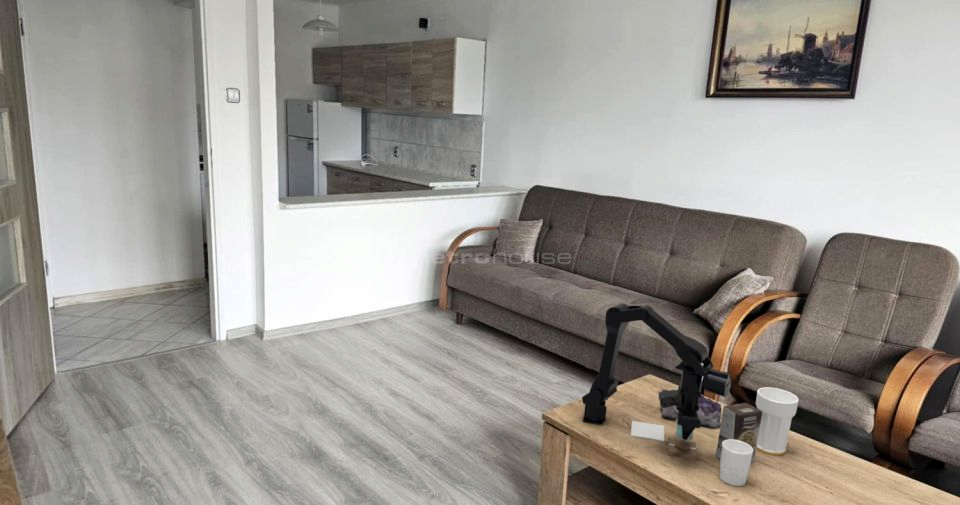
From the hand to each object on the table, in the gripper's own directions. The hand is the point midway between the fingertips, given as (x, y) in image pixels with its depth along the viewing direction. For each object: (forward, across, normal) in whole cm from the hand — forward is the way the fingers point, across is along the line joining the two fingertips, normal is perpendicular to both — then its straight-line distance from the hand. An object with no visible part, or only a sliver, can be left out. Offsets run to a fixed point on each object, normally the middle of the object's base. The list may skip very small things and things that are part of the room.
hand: (684, 435), depth 186 cm
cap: (0, 0, 0) cm, 0 cm away
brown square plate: (+5, 0, 0) cm, 5 cm away
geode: (+6, -24, +3) cm, 25 cm away
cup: (+5, -12, +26) cm, 29 cm away
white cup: (+5, +11, +13) cm, 18 cm away
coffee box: (+5, -1, +15) cm, 16 cm away
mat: (+5, -9, -10) cm, 14 cm away
